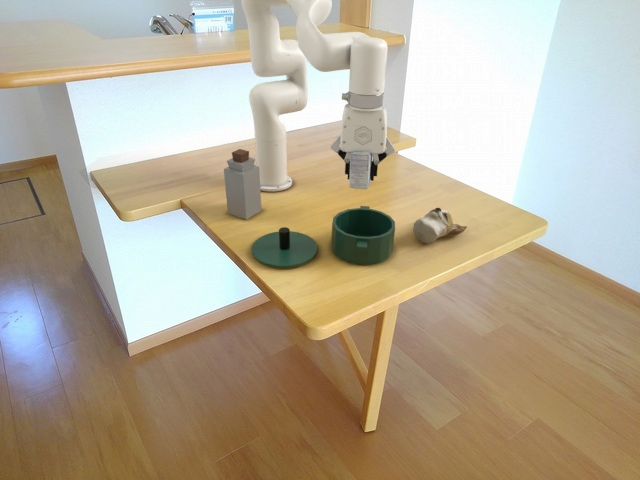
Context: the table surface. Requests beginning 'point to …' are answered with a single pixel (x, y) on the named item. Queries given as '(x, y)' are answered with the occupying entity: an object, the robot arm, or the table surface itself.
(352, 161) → the medicine box
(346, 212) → the pot
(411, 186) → the table surface
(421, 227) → the ceramic sculpture
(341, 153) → the robot arm
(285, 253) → the lid
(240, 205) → the perfume bottle
